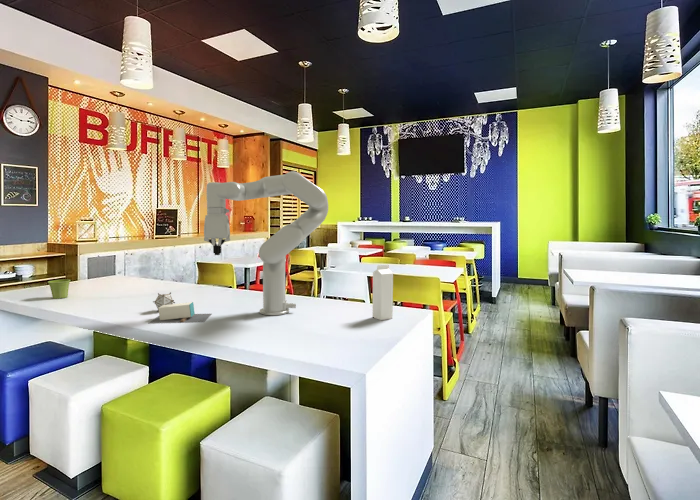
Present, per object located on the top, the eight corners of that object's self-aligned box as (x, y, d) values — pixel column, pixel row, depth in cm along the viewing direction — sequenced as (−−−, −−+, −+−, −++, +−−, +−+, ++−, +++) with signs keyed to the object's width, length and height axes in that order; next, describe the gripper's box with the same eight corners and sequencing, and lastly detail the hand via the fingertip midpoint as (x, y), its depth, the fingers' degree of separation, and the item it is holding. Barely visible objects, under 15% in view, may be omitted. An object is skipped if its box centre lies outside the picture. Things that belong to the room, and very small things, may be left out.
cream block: (193, 302, 163) (162, 305, 162) (189, 304, 158) (158, 307, 157) (194, 313, 163) (164, 317, 162) (191, 316, 158) (160, 320, 157)
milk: (392, 318, 163) (393, 265, 162) (380, 320, 160) (381, 266, 158) (383, 315, 169) (384, 263, 167) (371, 317, 165) (372, 264, 163)
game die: (166, 320, 173) (164, 305, 166) (150, 312, 174) (147, 297, 168) (180, 306, 180) (178, 291, 173) (164, 299, 181) (162, 284, 175)
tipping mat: (212, 314, 169) (212, 311, 169) (204, 322, 155) (204, 320, 155) (160, 315, 166) (160, 312, 166) (147, 324, 152) (147, 321, 152)
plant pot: (44, 299, 196) (43, 282, 195) (56, 296, 206) (55, 279, 205) (64, 299, 197) (63, 282, 196) (75, 295, 206) (74, 279, 206)
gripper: (236, 212, 173) (236, 254, 175) (200, 211, 171) (201, 254, 173) (233, 212, 166) (233, 255, 167) (195, 211, 164) (196, 255, 165)
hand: (217, 254), depth 170 cm, fingers closed
